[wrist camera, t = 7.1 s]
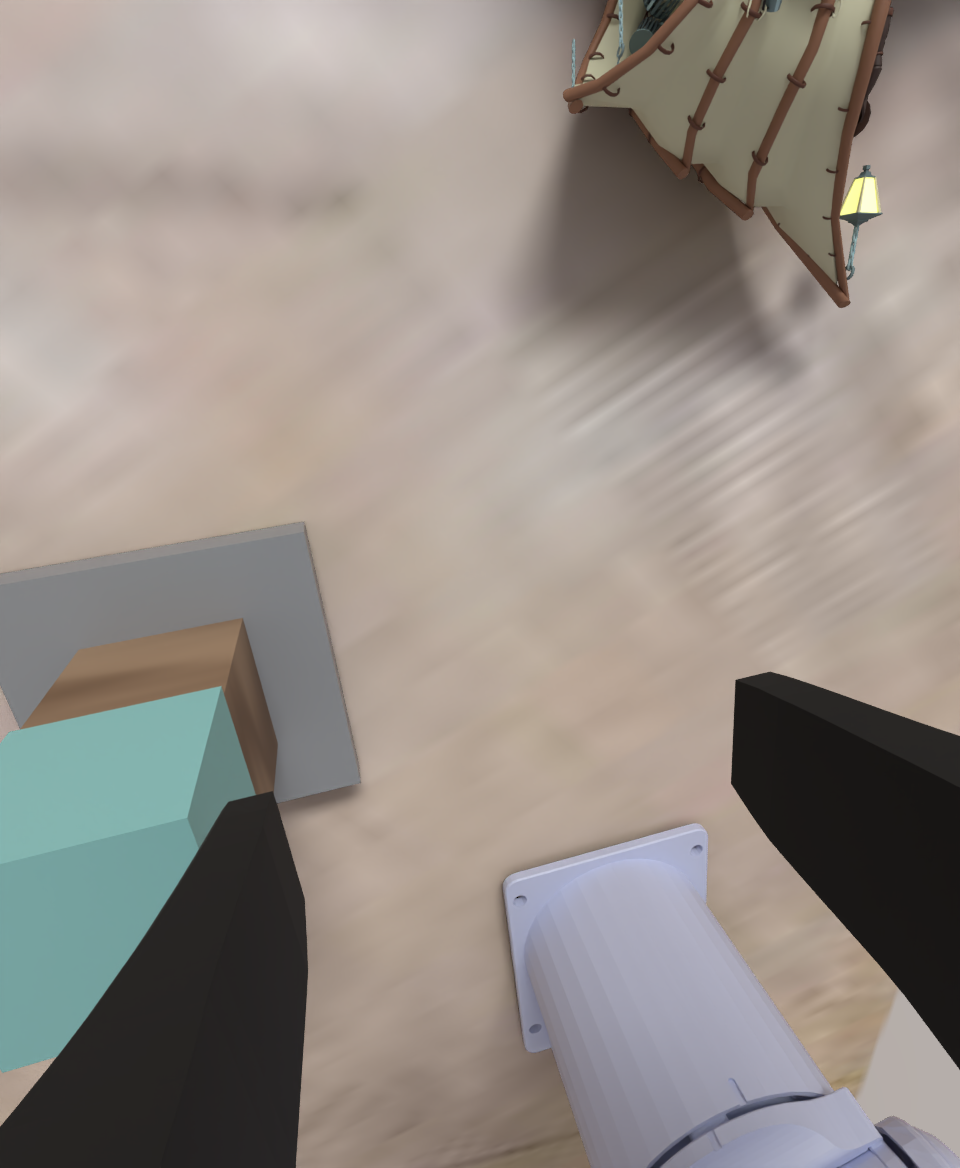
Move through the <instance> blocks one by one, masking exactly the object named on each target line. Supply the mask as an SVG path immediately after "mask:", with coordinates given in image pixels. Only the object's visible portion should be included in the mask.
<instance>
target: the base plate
mask: <svg viewBox="0 0 960 1168" xmlns="http://www.w3.org/2000/svg"><path fill="white" fill-rule="evenodd" d="M240 618H243V621H244V624H245V628H246V631H247V635H248V639H249V642H250V646H251V649H252V653H253V656H254V660H255V664H256V667H257V671H258V674H259V678H260V681H261V685H262V689H263V692H264V696H265V699H266V703H267V706H268V710H269V714H270V717H271V721H272V724H273V728H274V731H275V735H276V739H277V742H278V749H277V761H276V772H275V784H274V796H275V799H276V803H280V802H284V801H289V800H293V799H297V798H301V797H305V796H309V795H313V794H317V793H321V792H326V791H330V790H334V789H338V788H342V787H346V786H350V785H354V784H358V783H361V781H360V771H359V762H358V758H357V754H356V749H355V745H354V740H353V736H352V731H351V727H350V723H349V718H348V714H347V709H346V705H345V700H344V696H343V691H342V687H341V683H340V678H339V674H338V669H337V665H336V660H335V656H334V652H333V647H332V643H331V638H330V634H329V629H328V625H327V621H326V616H325V612H324V607H323V603H322V598H321V594H320V589H319V585H318V581H317V576H316V572H315V567H314V563H313V558H312V554H311V550H310V545H309V541H308V536H307V532H306V527H305V523H304V522H299V523H293V524H288V525H282V526H276V527H270V528H264V529H259V530H253V531H247V532H241V533H235V534H229V535H224V536H218V537H212V538H206V539H200V540H194V541H189V542H183V543H177V544H171V545H165V546H159V547H154V548H148V549H142V550H136V551H130V552H124V553H119V554H113V555H107V556H101V557H95V558H89V559H84V560H78V561H72V562H66V563H60V564H55V565H49V566H43V567H37V568H31V569H25V570H20V571H14V572H8V573H2V574H0V686H1V688H2V690H3V693H4V695H5V697H6V699H7V701H8V704H9V706H10V708H11V710H12V712H13V714H14V717H15V719H16V721H17V723H18V725H19V728H20V729H21V727H22V726H23V725H24V723H25V722H26V721H27V719H28V718H29V717H30V715H31V714H32V712H33V711H34V710H35V708H36V707H37V706H38V704H39V703H40V702H41V700H42V699H43V698H44V696H45V695H46V693H47V692H48V691H49V689H50V688H51V687H52V685H53V684H54V683H55V681H56V680H57V679H58V677H59V676H60V674H61V673H62V672H63V670H64V669H65V668H66V666H67V665H68V664H69V662H70V661H71V660H72V658H73V657H74V655H75V654H76V653H77V651H78V650H80V649H85V648H90V647H95V646H100V645H105V644H111V643H116V642H121V641H126V640H131V639H136V638H142V637H147V636H152V635H157V634H162V633H167V632H173V631H178V630H183V629H188V628H193V627H198V626H204V625H209V624H214V623H219V622H224V621H229V620H235V619H240Z"/></svg>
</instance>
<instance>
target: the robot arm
mask: <svg viewBox="0 0 960 1168" xmlns="http://www.w3.org/2000/svg"><path fill="white" fill-rule="evenodd" d="M731 784H732V786H733V787H734V789H735V790H736V792H737V793H738V795H739V796H740V798H741V799H742V801H743V803H744V804H745V806H746V807H747V809H748V810H749V812H750V813H751V815H752V816H753V818H754V819H755V820H756V822H757V823H758V825H759V826H760V828H761V829H762V830H763V832H764V833H765V835H766V836H767V837H768V839H769V840H770V841H771V842H772V844H773V845H774V846H775V847H776V848H777V849H778V851H779V852H780V853H781V854H782V855H783V856H784V858H785V859H786V860H787V861H788V862H789V863H790V864H791V866H792V867H793V868H794V869H795V870H796V871H797V873H798V874H799V875H800V876H801V877H802V878H803V879H804V881H805V882H806V883H807V884H808V885H809V886H810V887H811V888H812V890H813V891H814V892H815V893H816V894H817V895H818V896H819V898H820V899H821V900H822V901H823V902H824V903H825V904H826V905H827V907H828V908H829V909H830V910H831V911H832V912H833V913H834V914H835V916H836V917H837V918H838V919H839V920H840V921H841V922H842V923H843V925H844V926H845V927H846V928H847V929H848V930H849V931H850V932H851V934H852V935H853V936H854V937H855V938H856V939H857V940H858V941H859V943H860V944H861V945H862V946H863V947H864V948H865V949H866V951H867V952H868V953H869V954H870V955H871V956H872V957H873V958H874V960H875V961H876V962H877V963H878V964H879V965H880V966H881V968H882V969H883V970H884V971H885V972H886V974H887V975H888V976H889V977H890V978H891V980H892V981H893V982H894V983H895V985H896V986H897V987H898V988H899V989H900V991H901V992H902V993H903V994H904V995H905V997H906V998H907V999H908V1001H909V1002H910V1003H911V1005H912V1006H913V1007H914V1009H915V1010H916V1011H917V1013H918V1014H919V1015H920V1017H921V1018H922V1019H923V1021H924V1022H925V1023H926V1025H927V1026H928V1027H929V1029H930V1030H931V1031H932V1033H933V1034H934V1036H935V1037H936V1038H937V1039H938V1041H939V1042H940V1043H941V1045H942V1046H943V1048H944V1049H945V1050H946V1052H947V1053H948V1054H949V1056H950V1057H951V1058H952V1060H953V1061H954V1062H955V1064H956V1065H957V1067H958V1068H959V1069H960V736H958V735H955V734H952V733H949V732H946V731H943V730H940V729H937V728H934V727H931V726H928V725H925V724H922V723H919V722H916V721H913V720H911V719H908V718H905V717H902V716H899V715H896V714H894V713H891V712H888V711H885V710H882V709H880V708H877V707H874V706H871V705H868V704H866V703H863V702H860V701H857V700H854V699H852V698H849V697H846V696H843V695H840V694H838V693H835V692H832V691H829V690H826V689H824V688H821V687H818V686H815V685H812V684H809V683H806V682H803V681H800V680H797V679H794V678H790V677H787V676H784V675H780V674H776V673H773V672H767V673H763V674H759V675H754V676H750V677H746V678H742V679H738V680H736V683H735V706H734V729H733V752H732V775H731ZM707 855H708V834H707V832H706V830H705V829H704V828H703V827H702V826H701V824H697V823H694V824H689V825H685V826H682V827H678V828H675V829H671V830H667V831H664V832H660V833H657V834H653V835H650V836H646V837H642V838H639V839H635V840H632V841H628V842H624V843H621V844H617V845H614V846H610V847H606V848H603V849H599V850H596V851H592V852H588V853H585V854H581V855H578V856H574V857H571V858H567V859H563V860H560V861H556V862H553V863H549V864H545V865H542V866H538V867H535V868H531V869H527V870H524V871H520V872H517V873H514V874H511V875H509V876H508V877H507V878H506V879H505V881H504V882H503V893H504V901H505V908H506V916H507V923H508V931H509V938H510V946H511V953H512V961H513V968H514V976H515V983H516V991H517V998H518V1006H519V1013H520V1021H521V1028H522V1036H523V1041H524V1045H525V1048H526V1050H527V1051H529V1052H532V1053H536V1052H540V1051H543V1050H546V1049H549V1048H552V1051H553V1054H554V1057H555V1060H556V1063H557V1066H558V1069H559V1072H560V1076H561V1079H562V1082H563V1085H564V1088H565V1091H566V1094H567V1097H568V1100H569V1103H570V1106H571V1109H572V1112H573V1115H574V1118H575V1121H576V1124H577V1127H578V1130H579V1133H580V1136H581V1139H582V1142H583V1145H584V1148H585V1151H586V1154H587V1157H588V1160H589V1163H590V1166H591V1168H960V1159H959V1157H958V1156H957V1155H956V1154H955V1153H953V1151H951V1150H950V1149H949V1148H948V1147H947V1146H946V1145H945V1144H944V1143H943V1142H942V1141H940V1140H939V1139H938V1138H936V1137H935V1136H933V1135H932V1134H930V1133H928V1132H925V1131H923V1130H920V1129H918V1128H916V1127H913V1126H911V1125H909V1124H908V1123H907V1122H905V1121H904V1120H902V1119H900V1118H898V1117H895V1116H890V1117H887V1118H885V1119H884V1120H882V1121H880V1122H878V1123H877V1124H875V1125H873V1123H872V1122H871V1121H870V1119H869V1118H868V1116H867V1115H866V1114H865V1112H864V1111H863V1109H862V1108H861V1106H860V1105H859V1104H858V1102H857V1101H856V1099H855V1098H854V1096H853V1095H852V1094H851V1092H850V1091H849V1089H848V1088H846V1087H842V1088H840V1089H838V1090H836V1091H834V1090H833V1089H832V1087H831V1086H830V1084H829V1083H828V1081H827V1080H826V1078H825V1077H824V1075H823V1074H822V1073H821V1071H820V1070H819V1068H818V1067H817V1065H816V1064H815V1062H814V1061H813V1059H812V1058H811V1057H810V1055H809V1054H808V1052H807V1051H806V1049H805V1048H804V1046H803V1045H802V1043H801V1042H800V1040H799V1039H798V1038H797V1036H796V1035H795V1033H794V1032H793V1030H792V1029H791V1027H790V1026H789V1024H788V1023H787V1022H786V1020H785V1019H784V1017H783V1016H782V1014H781V1013H780V1011H779V1010H778V1008H777V1007H776V1005H775V1004H774V1003H773V1001H772V1000H771V998H770V997H769V995H768V994H767V992H766V991H765V989H764V988H763V987H762V985H761V984H760V982H759V981H758V979H757V978H756V976H755V975H754V973H753V972H752V970H751V969H750V968H749V966H748V965H747V963H746V962H745V960H744V959H743V957H742V956H741V954H740V953H739V952H738V950H737V949H736V947H735V946H734V944H733V943H732V941H731V940H730V938H729V937H728V935H727V934H726V933H725V931H724V930H723V928H722V927H721V925H720V924H719V922H718V921H717V919H716V918H715V917H714V915H713V914H712V912H711V911H710V909H709V908H708V906H707V905H706V891H707ZM518 896H520V897H518ZM516 897H518V898H516ZM307 980H308V960H307V935H306V916H305V898H304V895H303V892H302V888H301V885H300V881H299V878H298V875H297V871H296V868H295V864H294V861H293V858H292V854H291V851H290V847H289V844H288V840H287V837H286V834H285V830H284V827H283V823H282V820H281V817H280V813H279V810H278V806H277V803H276V799H275V796H274V793H273V791H271V792H266V793H262V794H258V795H254V796H250V797H246V798H241V799H237V800H233V801H229V802H228V803H227V804H226V805H225V807H224V808H223V810H222V811H221V813H220V814H219V816H218V818H217V819H216V821H215V823H214V824H213V826H212V828H211V829H210V831H209V833H208V834H207V836H206V838H205V840H204V841H203V843H202V845H201V846H200V848H199V850H198V851H197V853H196V855H195V856H194V858H193V860H192V861H191V863H190V865H189V866H188V868H187V869H186V871H185V873H184V874H183V876H182V878H181V879H180V881H179V883H178V884H177V886H176V887H175V889H174V890H173V892H172V894H171V895H170V897H169V898H168V900H167V901H166V903H165V904H164V906H163V908H162V909H161V911H160V912H159V914H158V915H157V917H156V918H155V920H154V922H153V923H152V925H151V926H150V928H149V929H148V931H147V932H146V934H145V935H144V937H143V938H142V940H141V941H140V943H139V944H138V946H137V947H136V949H135V950H134V952H133V953H132V955H131V956H130V957H129V959H128V960H127V962H126V963H125V965H124V966H123V967H122V969H121V970H120V972H119V973H118V974H117V976H116V977H115V979H114V980H113V981H112V983H111V984H110V986H109V987H108V989H107V990H106V991H105V993H104V994H103V996H102V997H101V998H100V1000H99V1001H98V1003H97V1004H96V1006H95V1007H94V1008H93V1010H92V1011H91V1013H90V1014H89V1015H88V1017H87V1018H86V1019H85V1021H84V1022H83V1023H82V1025H81V1026H80V1027H79V1029H78V1030H77V1031H76V1033H75V1034H74V1035H73V1037H72V1038H71V1039H70V1040H69V1042H68V1043H67V1044H66V1046H65V1047H64V1048H63V1050H62V1051H61V1052H60V1054H59V1055H58V1056H57V1057H56V1059H55V1060H54V1061H53V1063H52V1064H51V1065H50V1066H49V1068H48V1069H47V1070H46V1071H45V1073H44V1074H43V1075H42V1076H41V1078H40V1079H39V1080H38V1081H37V1083H36V1084H35V1085H34V1086H33V1087H32V1089H31V1090H30V1091H29V1092H28V1094H27V1095H26V1096H25V1097H24V1099H23V1100H22V1101H21V1102H20V1104H19V1105H18V1106H17V1107H16V1109H15V1110H14V1111H13V1112H12V1113H11V1115H10V1116H9V1117H8V1118H7V1119H6V1120H5V1122H4V1123H3V1124H2V1125H1V1126H0V1168H296V1152H297V1137H298V1122H299V1107H300V1091H301V1076H302V1061H303V1046H304V1030H305V1014H306V998H307Z"/></svg>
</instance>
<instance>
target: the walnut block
mask: <svg viewBox="0 0 960 1168" xmlns="http://www.w3.org/2000/svg"><path fill="white" fill-rule="evenodd" d="M219 686H221V687H222V690H223V693H224V696H225V699H226V702H227V705H228V709H229V712H230V715H231V718H232V721H233V724H234V728H235V731H236V734H237V737H238V740H239V743H240V746H241V750H242V753H243V756H244V759H245V762H246V765H247V769H248V772H249V775H250V778H251V781H252V784H253V787H254V791H255V794H256V795H258V794H262V793H266V792H271V791H273V793H274V784H275V772H276V761H277V749H278V742H277V739H276V735H275V731H274V728H273V724H272V721H271V717H270V714H269V710H268V706H267V703H266V699H265V696H264V692H263V689H262V685H261V681H260V678H259V674H258V671H257V667H256V664H255V660H254V656H253V653H252V649H251V646H250V642H249V639H248V635H247V631H246V628H245V624H244V621H243V618H240V619H235V620H229V621H224V622H219V623H214V624H209V625H204V626H198V627H193V628H188V629H183V630H178V631H173V632H167V633H162V634H157V635H152V636H147V637H142V638H136V639H131V640H126V641H121V642H116V643H111V644H105V645H100V646H95V647H90V648H85V649H80V650H78V651H77V653H76V654H75V655H74V657H73V658H72V660H71V661H70V662H69V664H68V665H67V666H66V668H65V669H64V670H63V672H62V673H61V674H60V676H59V677H58V679H57V680H56V681H55V683H54V684H53V685H52V687H51V688H50V689H49V691H48V692H47V693H46V695H45V696H44V698H43V699H42V700H41V702H40V703H39V704H38V706H37V707H36V708H35V710H34V711H33V712H32V714H31V715H30V717H29V718H28V719H27V721H26V722H25V723H24V725H23V726H22V727H21V729H25V728H30V727H35V726H39V725H44V724H48V723H53V722H58V721H62V720H67V719H72V718H76V717H81V716H85V715H90V714H95V713H99V712H104V711H108V710H113V709H118V708H122V707H127V706H132V705H136V704H141V703H145V702H150V701H155V700H159V699H164V698H168V697H173V696H178V695H182V694H187V693H192V692H196V691H201V690H205V689H210V688H215V687H219ZM21 729H20V730H21Z"/></svg>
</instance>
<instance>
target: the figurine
mask: <svg viewBox="0 0 960 1168" xmlns="http://www.w3.org/2000/svg"><path fill="white" fill-rule="evenodd" d="M890 3H891V0H608V1H607V4H606V7H605V11H604V14H603V17H602V20H601V23H600V25H599V27H598V29H597V31H596V33H595V36H594V38H593V40H592V42H591V44H590V46H589V49H588V51H587V53H586V55H585V57H584V59H583V61H582V64H581V67H580V70H579V72H578V75H577V78H576V81H575V39H573V43H572V88H569V89H566V90H565V91H564V92H563V98H564V99H565V101H567V102H568V109H569V112H570V113H572V114H576V113H582V112H584V111H586V110H587V109H588V107H589V106H597V107H621V108H629V115H630V116H632V117H633V118H634V120H635V121H636V123H637V124H638V126H639V127H640V129H641V130H642V132H643V133H644V135H645V136H646V138H647V139H648V142H649V143H650V144H651V145H652V146H653V148H654V149H655V151H656V152H657V153H658V154H659V156H660V157H661V158H662V159H663V160H664V162H665V163H666V164H667V165H668V167H669V168H670V169H671V170H672V171H673V173H674V174H675V175H676V176H677V178H678V179H683V178H685V177H686V176H687V175H688V173H690V167H691V164H692V166H693V167H694V169H695V170H696V172H697V173H698V181H700V182H701V183H704V184H705V186H706V187H707V189H708V190H709V191H710V192H711V193H712V194H713V195H715V196H716V197H717V198H718V199H719V200H720V201H722V202H723V203H724V204H725V205H726V206H727V207H728V208H730V209H731V210H732V211H733V212H734V213H735V214H737V215H738V216H739V217H740V218H741V219H742V220H748V219H750V218H751V217H752V216H753V214H754V212H753V208H754V207H762V209H763V210H764V212H765V214H766V215H767V217H768V218H769V220H770V221H771V223H772V224H773V226H774V228H775V229H776V230H777V231H778V233H779V234H780V235H781V236H782V238H783V239H784V240H785V241H786V243H787V244H788V245H789V246H790V248H791V249H792V250H793V251H794V253H795V254H796V255H797V256H798V258H799V259H800V260H801V261H802V262H803V264H804V265H805V266H806V267H807V269H808V270H809V271H810V272H811V274H812V275H813V276H814V277H815V279H816V280H817V281H818V282H819V284H820V285H821V286H822V287H823V288H824V290H825V291H826V292H827V293H828V295H829V296H830V297H831V298H832V300H833V301H834V302H835V303H836V305H837V306H838V307H839V308H843V307H846V306H848V305H849V304H850V301H849V293H848V285H847V280H849V279H850V278H851V277H852V276H853V274H854V271H855V268H854V266H852V265H853V259H854V253H855V247H856V241H857V237H858V231H859V225H861V224H862V223H864V222H867V221H868V220H869V219H871V218H874V217H876V216H879V215H881V214H882V213H881V207H880V201H879V194H878V187H877V180H876V177H875V176H872V175H871V172H869V171H868V170H869V169H870V165H866V166H863V170H864V172H861V174H860V176H859V177H857V178H855V179H854V180H853V182H852V184H851V186H850V189H849V191H848V193H847V195H846V197H845V199H844V201H843V203H842V200H843V194H844V188H845V182H846V176H847V170H848V164H849V157H850V151H851V145H852V140H853V137H855V136H857V135H858V134H859V133H860V132H861V131H862V130H863V129H864V128H865V126H866V125H867V123H868V121H869V117H870V114H871V111H870V104H869V102H868V101H867V99H868V95H869V93H870V92H871V90H872V88H873V86H874V85H875V83H876V81H877V79H878V76H879V74H880V72H881V70H882V68H881V66H882V55H883V52H882V50H883V47H884V44H885V39H886V38H887V34H888V31H889V25H890V19H891V17H892V15H893V11H894V9H893V8H892V7H890ZM573 57H574V58H573ZM573 67H574V68H573ZM573 77H574V78H573ZM583 106H586V107H585V108H584V109H582V107H583ZM581 109H582V110H581ZM680 160H681V161H682V162H681V161H680ZM700 178H701V180H702V181H701V180H700ZM735 196H736V197H735ZM739 199H740V200H741V201H742V202H744V203H745V204H744V203H742V202H741V201H740V200H739ZM839 219H842V220H846V221H848V223H851V224H853V225H854V226H855V227H854V231H853V236H852V243H851V248H850V254H849V259H848V264H847V266H846V267H845V262H844V254H843V246H842V238H841V230H840V222H839ZM856 227H857V229H856ZM853 244H854V245H853ZM852 251H853V252H852ZM846 270H848V271H850V270H851V273H850V275H849V276H848V277H846ZM837 281H838V284H839V287H838V285H837Z"/></svg>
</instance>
